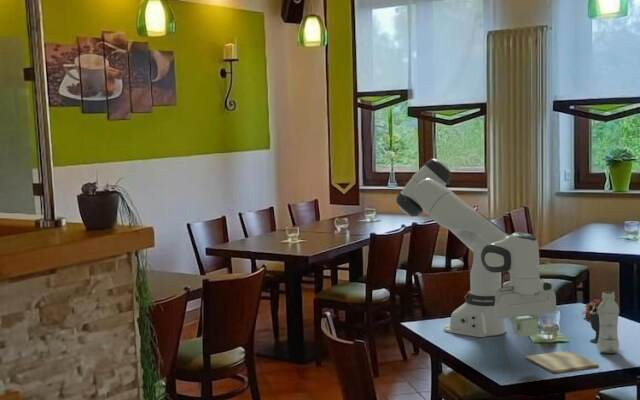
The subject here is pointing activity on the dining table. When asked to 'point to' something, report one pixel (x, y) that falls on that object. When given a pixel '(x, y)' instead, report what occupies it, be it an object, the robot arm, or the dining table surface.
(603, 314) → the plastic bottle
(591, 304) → the flower
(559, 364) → the tan square board
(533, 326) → the sage block
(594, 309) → the sundae
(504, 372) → the dining table surface
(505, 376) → the dining table surface
